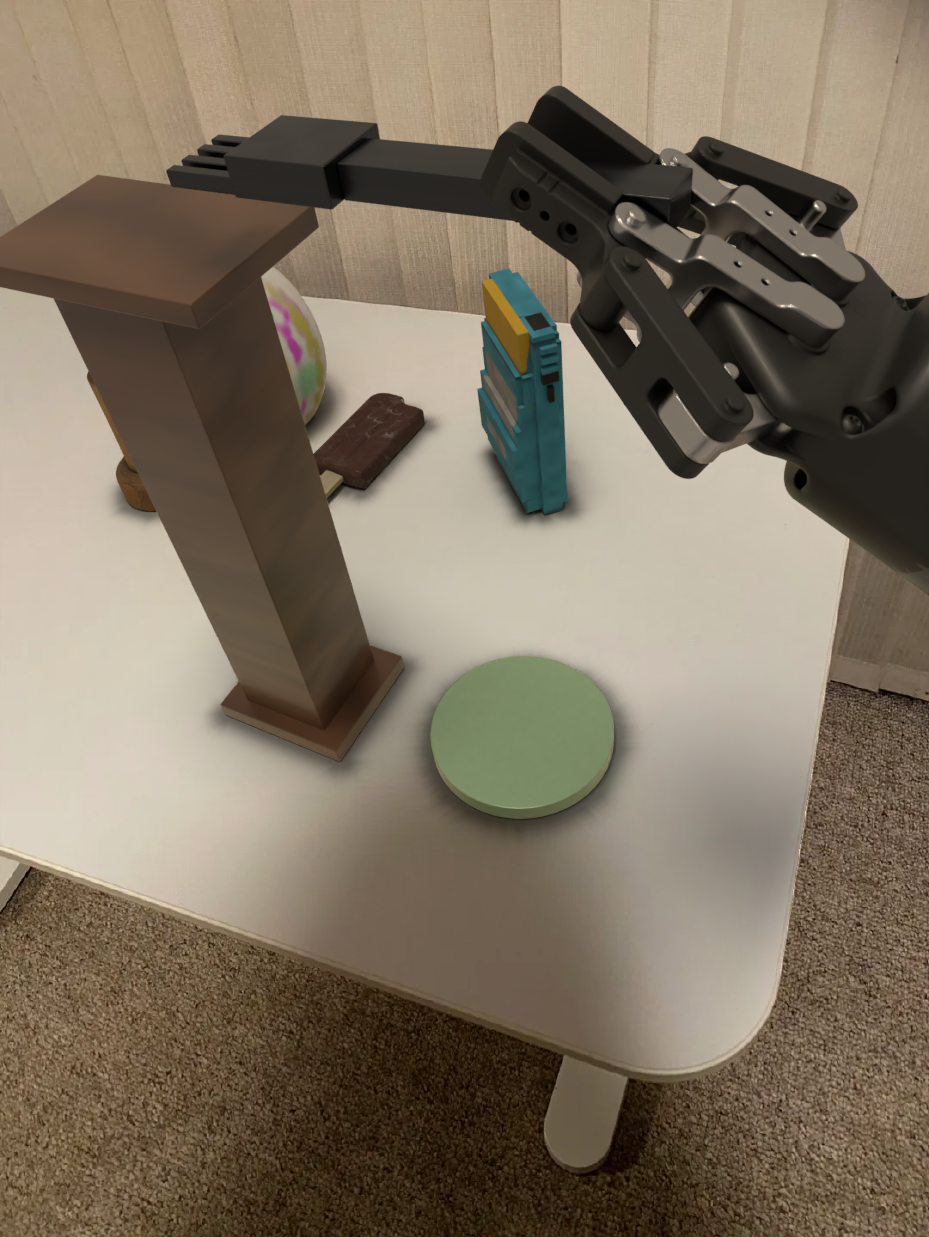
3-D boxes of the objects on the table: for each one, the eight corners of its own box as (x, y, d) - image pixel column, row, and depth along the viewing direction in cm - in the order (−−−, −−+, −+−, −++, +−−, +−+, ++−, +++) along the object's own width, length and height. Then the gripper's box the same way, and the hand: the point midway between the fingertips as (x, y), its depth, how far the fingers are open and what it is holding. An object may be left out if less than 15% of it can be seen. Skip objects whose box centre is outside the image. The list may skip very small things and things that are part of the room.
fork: (659, 252, 26) (661, 203, 25) (168, 189, 33) (153, 148, 31) (698, 198, 28) (702, 149, 26) (226, 149, 34) (213, 109, 33)
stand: (360, 770, 56) (190, 305, 33) (207, 707, 60) (-37, 260, 37) (424, 674, 60) (314, 203, 37) (277, 622, 65) (97, 174, 42)
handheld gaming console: (574, 510, 69) (568, 332, 58) (522, 525, 69) (506, 349, 57) (530, 436, 75) (517, 263, 64) (482, 449, 75) (461, 278, 64)
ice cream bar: (328, 529, 71) (430, 418, 79) (323, 513, 69) (428, 402, 77) (275, 511, 73) (380, 404, 81) (269, 495, 72) (376, 388, 79)
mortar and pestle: (175, 517, 74) (80, 313, 60) (109, 504, 76) (4, 304, 62) (218, 465, 78) (138, 263, 64) (154, 454, 80) (64, 256, 66)
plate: (570, 847, 51) (569, 837, 50) (400, 778, 55) (396, 767, 54) (640, 699, 57) (641, 687, 56) (482, 647, 61) (481, 635, 60)
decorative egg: (198, 471, 77) (130, 309, 66) (204, 388, 85) (144, 231, 74) (342, 444, 78) (299, 278, 66) (334, 364, 86) (294, 204, 75)
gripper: (1119, 269, 28) (661, -70, 28) (1077, 571, 21) (444, 115, 20) (932, 418, 35) (555, 146, 34) (848, 693, 27) (359, 348, 26)
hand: (516, 136), depth 27 cm, fingers closed on fork
